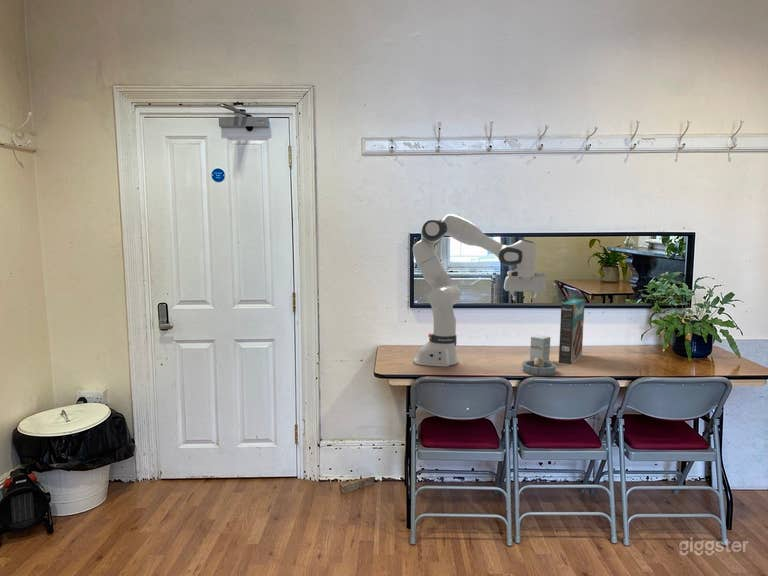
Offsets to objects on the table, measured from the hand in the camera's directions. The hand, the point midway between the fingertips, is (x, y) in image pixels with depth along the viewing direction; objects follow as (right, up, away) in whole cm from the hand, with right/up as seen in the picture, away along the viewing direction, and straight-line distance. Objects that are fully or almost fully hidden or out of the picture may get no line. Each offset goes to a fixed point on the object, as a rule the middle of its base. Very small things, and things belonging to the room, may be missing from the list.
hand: (524, 300), depth 265 cm
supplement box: (+10, -31, +8) cm, 34 cm away
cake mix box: (+27, -31, +12) cm, 43 cm away
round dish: (+4, -33, -12) cm, 36 cm away
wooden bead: (+4, -32, -12) cm, 35 cm away
